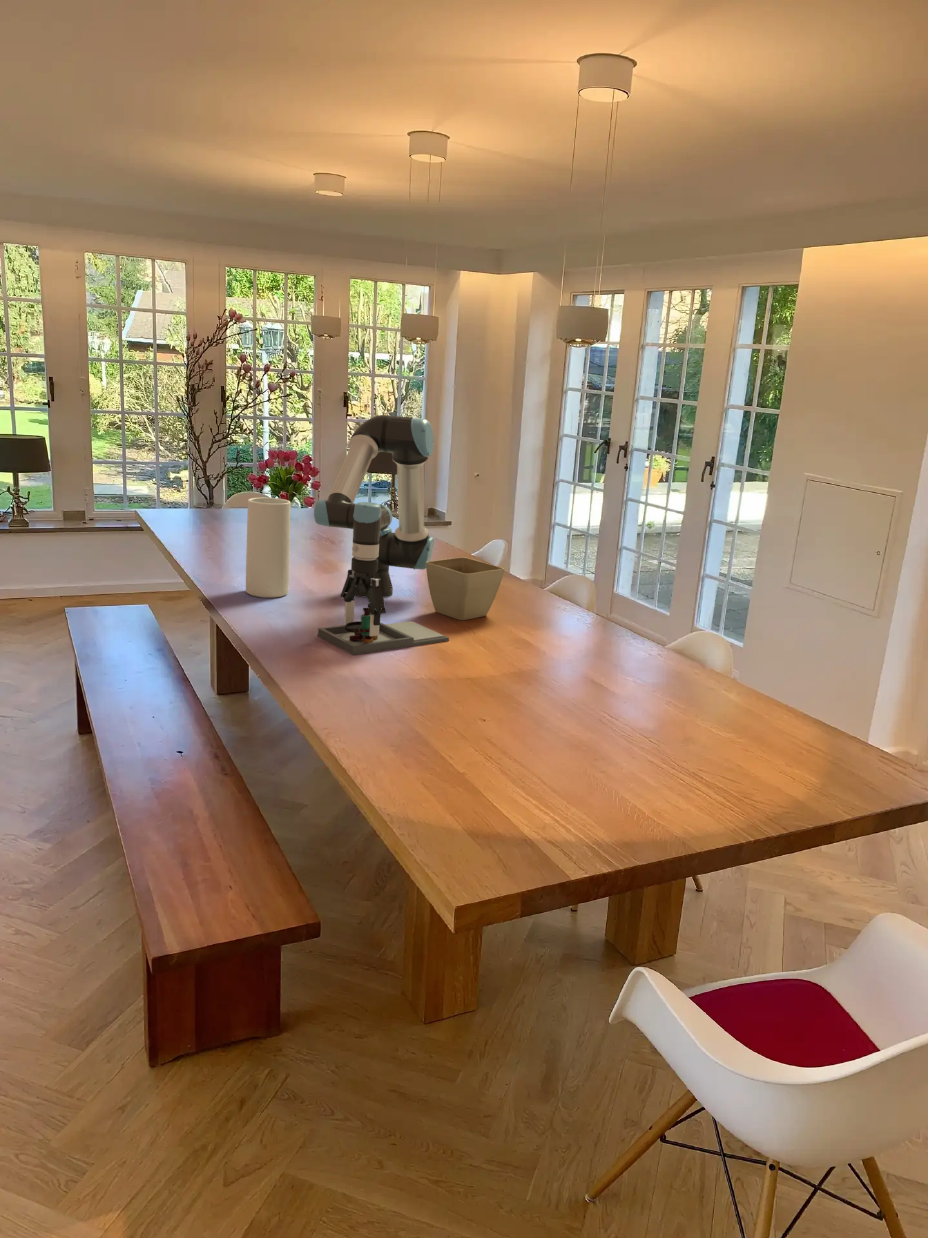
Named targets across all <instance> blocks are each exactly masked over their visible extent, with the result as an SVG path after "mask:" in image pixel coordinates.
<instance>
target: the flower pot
mask: <svg viewBox="0 0 928 1238" xmlns="http://www.w3.org/2000/svg"><path fill="white" fill-rule="evenodd" d="M425 570H426V577H427V584H428V589H429V594H430V598H431V601H432V605H433V606H432V607H433V609H434V612H436V613H438V614H441V615H444V616H446V617H450V618H453V619H455V620H459V621H466V620H472V619H477V618H480V617H486V616H487V615H488V613H489V612H490V609H491V607H492V605H493V603H494V601H495V599H496V596H497V593H498V591H499V588H500V586H501V583H502V580H503V576H504V572H505V568H504V567H502V566H497V565H496V564H495V565H494V564H491V563H487V562H485V561H480V560H477V559H473V558H470V557H466V556H460V557H454V558H444V559H437V560H430V561H428V562H426V569H425Z"/></svg>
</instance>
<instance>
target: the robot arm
mask: <svg viewBox="0 0 928 1238" xmlns="http://www.w3.org/2000/svg"><path fill="white" fill-rule="evenodd" d="M434 439H435V438H434V431H433V427H432V425H431V423H430V421H429V420H428V419H425V418H418V417H415V416H414V417H411V416H410V417H407V416H398V415H396V416H395V415H388V414H379V415H376V416H373V417H371V418H369V419H367V420H365V421H364V422H363V423H361V424H360V425H359V426H358V427H357V428H356V429H355V430H354V432H353V433H352V435H351V436H350V439H349V442H348V447H349V449H348V452H347V454H346V456H345V458H344V461H343V463H342V465H341V468H340V469H339V473H338V475H337V477H336V479H335V481H334V484H333V486H332V488H331V491H330V492H329V495H328V498H327V499H319V500H317V501H316V502H315V504H314V509H313V518H314V522H315V523H316V524H317V525H319V526H323V527H329V528H339V529H348V530H349V529H350V530H352V547H351V548H352V549H351V550H352V551H351V555H352V558H351V564H350V565H351V567H350V569H348V570H347V573H346V574H347V575H346V578H345V581H344V585H343V586H342V587H343V588H342V590H341V593H340V597H341V598H342V599H343V600H344V620H343V621H344V623H343V624H344V625H346V624H347V623H350V622H355V621H354V619H355V597H356V596H357V597H363V598H367V601H368V604H370V607H371V610H372V613H371V616H370V634H369V636H378V635H379V625H380V622H381V615H382V614H386V612H387V609H386V605H385V600H384V598H388V597H390V596H392V595H393V591H394V589H393V588H394V587H393V583H392V580H391V576H390V567H397V568H405V569H413V570H422V571H423V570H426V562H428V561H432V560H431V559H432V556H433V551H434V545H435V539H434V537H433V536H432V535H430V534H429V532H430V531H429V529H428V528H426V526H425V499H424V498H425V493H424V492H425V487H424V486H425V485H424V484H425V483H424V481H425V480H424V464H425V463H426V462H427V461H428V459H429V457H430V456H432V455H433V451H434V441H435V440H434ZM382 452H384V453H391V456H392V457H391V458H392V462H394V463H395V464H396V469H397V470H396V472H397V473H396V475H397V476H396V477H397V505H398V507H397V509H398V510H397V513H398V527H397V528H396V529H395V530H394V532H393V530H392V528H391V527H389V526H390V525H391V523H392V522H393V513H392V511H391V509H390V508H389V507H388V506H387V505H385V504H381V503H376V502H370V501H369V502H368V501H366V502H365V501H361V502H357V503H355V500H356V498H357V495H358V493H359V490H360V488H361V485H362V483H363V482H364V481H363V480H364V479H365V476H366V474H367V472H368V469H369V466H370V464H371V462H372V460H373V459H375V458H376V457H377V455H378V454H379V453H382Z"/></svg>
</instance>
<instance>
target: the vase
mask: <svg viewBox="0 0 928 1238" xmlns="http://www.w3.org/2000/svg"><path fill="white" fill-rule="evenodd" d="M291 505H292V504H291V501H290V500H287V499H284V498H277V497H275V498H274V497H251V498H248V499H247V516H246V517H247V519H246V520H247V522H246V548H245V549H246V554H245V556H246V557H245V558H246V559H245V561H246V562H245V591H246V593H247V594H249V595H250V596H252V597H256V598H264V599H268V598H269V599H271V598H275V599H276V598H281V597H284V596H287V595H288V593H289V591H290V590H289V587H290V586H289V585H290V561H291V560H290V559H291V558H290V557H291V554H290V552H291V551H290V550H291V549H290V548H291V513H292V512H291V510H292V509H291Z"/></svg>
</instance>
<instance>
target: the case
mask: <svg viewBox="0 0 928 1238" xmlns="http://www.w3.org/2000/svg"><path fill="white" fill-rule="evenodd" d="M345 625H346V624H342V625H333V626H324V627H318V628H317V637H319V638H320V639H322V640H324V641H326V642H328V643H329V644H332V645H333V646H335V647H337V648H339V649H340V650H342V651H344V652H347V653H348V654H350V655H352V656H357V655H363V654H370V653H377V652H385V651H390V650H397V649H398V650H399V649H403V648H404V649H405V648H409V647H417V646H424V645H430V644H431V645H432V644H436V643H437V644H438V643H443V642H444V643H445V642H449V640H450V638H449V637H448V636H446V635H444V634H441V633H440V632H437V631H435V630H432V629H430V628H428V627H426V626H424V625H421V624H419V623H417V622H414V621H412V620H407V621H400V622H393V623H384V622H383V623H382V622H381V621H380V625H379V635H378V639H373V642H371V643H366V642H364V641H363V640H350V637H349V636H352V635H355V634H354V632H348V631H346V630H345ZM357 627H360V628H361V625H352V626H348V627H347V628H350V629H357ZM360 628H358V629H359V630H360ZM362 639H363V637H362Z"/></svg>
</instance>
